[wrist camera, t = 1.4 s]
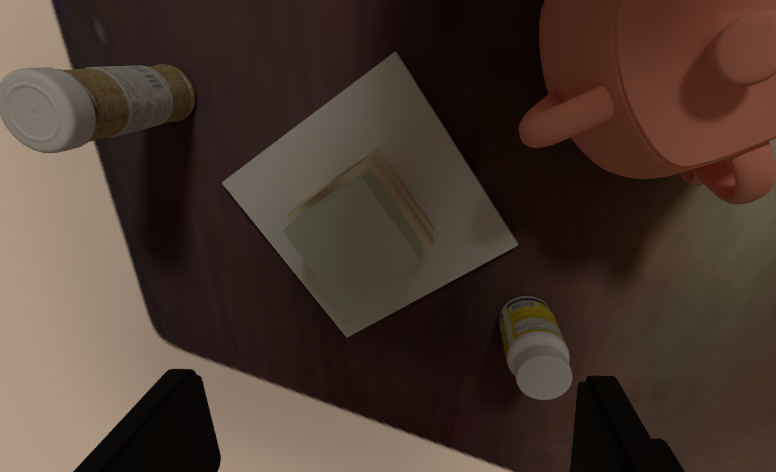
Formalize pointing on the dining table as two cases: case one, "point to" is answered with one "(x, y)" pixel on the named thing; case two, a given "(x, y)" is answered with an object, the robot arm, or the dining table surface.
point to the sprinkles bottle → (91, 103)
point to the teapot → (662, 89)
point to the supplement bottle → (535, 348)
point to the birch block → (390, 184)
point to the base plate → (412, 164)
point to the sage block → (355, 238)
